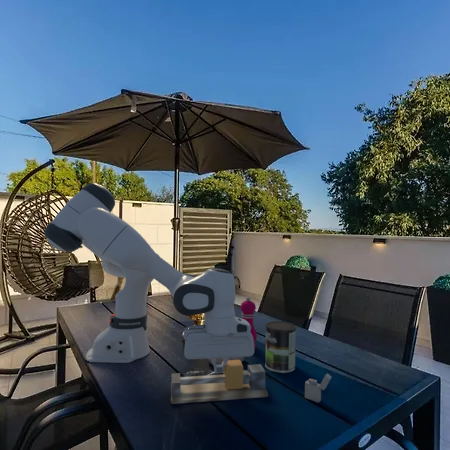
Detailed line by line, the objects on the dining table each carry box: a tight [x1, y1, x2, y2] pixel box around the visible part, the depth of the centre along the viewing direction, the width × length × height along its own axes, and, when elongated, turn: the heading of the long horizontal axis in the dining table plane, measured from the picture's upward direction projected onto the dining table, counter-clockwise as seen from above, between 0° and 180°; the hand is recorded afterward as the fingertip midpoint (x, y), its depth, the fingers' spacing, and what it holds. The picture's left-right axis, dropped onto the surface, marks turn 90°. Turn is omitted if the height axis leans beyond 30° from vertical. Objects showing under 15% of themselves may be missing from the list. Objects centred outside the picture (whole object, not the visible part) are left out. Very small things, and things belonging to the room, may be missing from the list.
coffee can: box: [264, 320, 297, 374], centre depth 113 cm, size 10×10×14 cm
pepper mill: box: [240, 296, 258, 350], centre depth 131 cm, size 7×7×20 cm
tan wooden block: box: [222, 360, 244, 389], centre depth 97 cm, size 5×5×6 cm
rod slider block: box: [170, 363, 269, 405], centre depth 96 cm, size 27×10×6 cm, turn 99°
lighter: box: [304, 373, 332, 404], centre depth 91 cm, size 7×2×8 cm, turn 51°
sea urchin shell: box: [207, 357, 246, 365], centre depth 116 cm, size 13×14×8 cm
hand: (219, 372), depth 96 cm, fingers closed
